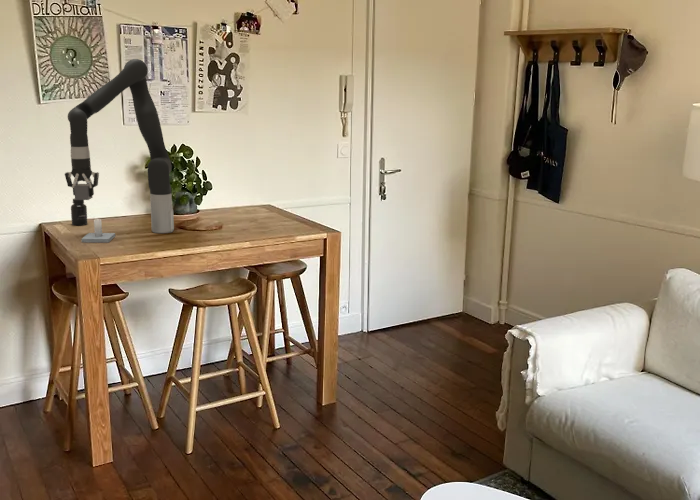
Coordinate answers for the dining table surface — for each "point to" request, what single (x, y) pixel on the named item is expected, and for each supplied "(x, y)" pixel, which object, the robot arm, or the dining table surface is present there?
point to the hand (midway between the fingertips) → (83, 196)
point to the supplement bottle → (78, 213)
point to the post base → (98, 239)
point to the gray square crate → (82, 192)
